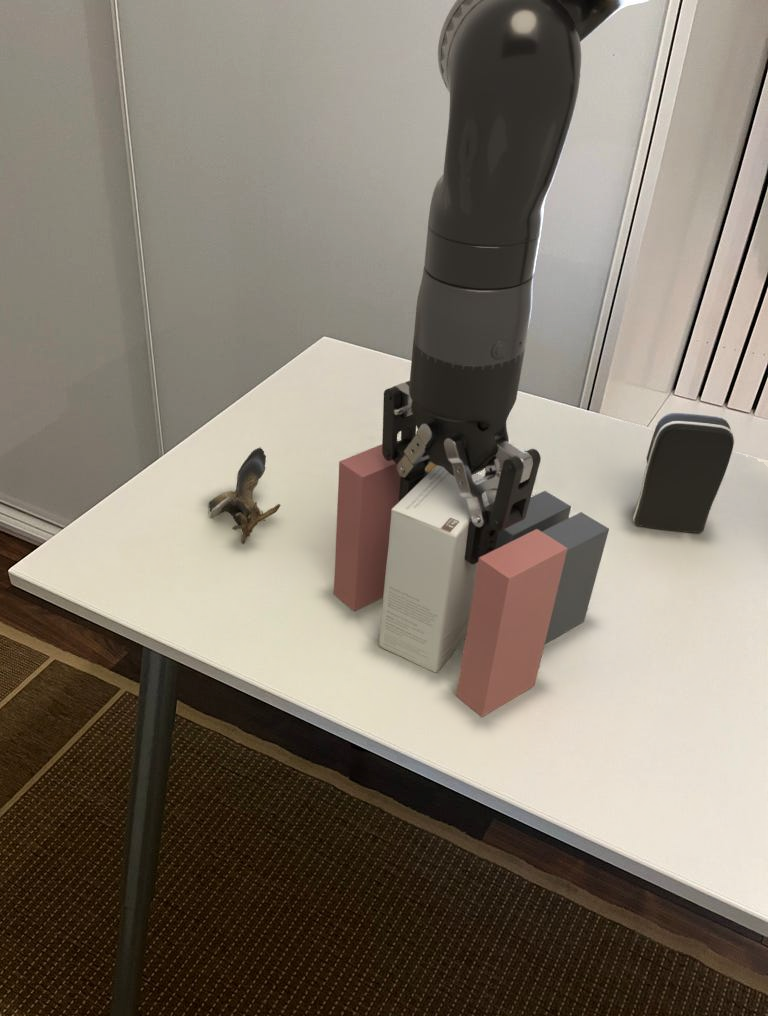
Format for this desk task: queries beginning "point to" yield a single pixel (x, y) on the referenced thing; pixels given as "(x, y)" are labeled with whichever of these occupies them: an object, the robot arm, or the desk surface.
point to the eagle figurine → (244, 496)
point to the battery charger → (683, 471)
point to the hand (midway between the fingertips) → (443, 535)
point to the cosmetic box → (428, 572)
